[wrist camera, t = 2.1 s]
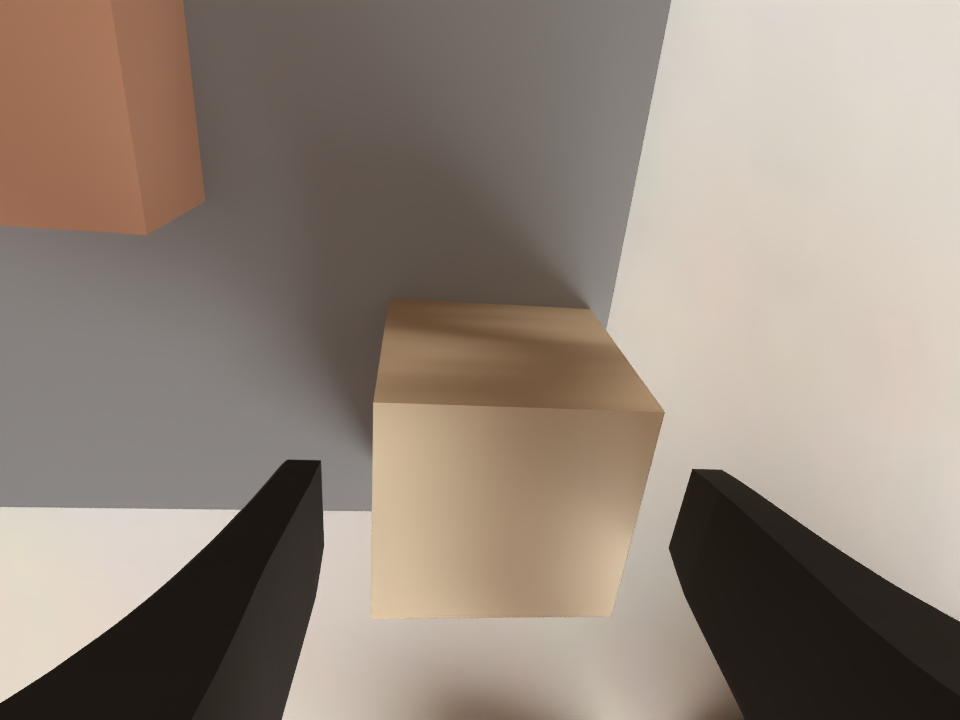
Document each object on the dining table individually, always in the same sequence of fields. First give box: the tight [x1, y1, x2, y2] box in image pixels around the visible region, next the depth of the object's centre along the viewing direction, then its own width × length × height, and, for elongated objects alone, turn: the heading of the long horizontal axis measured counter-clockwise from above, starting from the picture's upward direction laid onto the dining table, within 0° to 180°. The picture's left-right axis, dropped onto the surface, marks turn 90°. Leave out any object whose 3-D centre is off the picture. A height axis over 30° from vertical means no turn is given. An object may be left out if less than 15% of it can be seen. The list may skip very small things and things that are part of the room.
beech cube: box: [371, 298, 665, 619], centre depth 13 cm, size 5×5×5 cm
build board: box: [0, 0, 671, 511], centre depth 11 cm, size 20×18×4 cm
